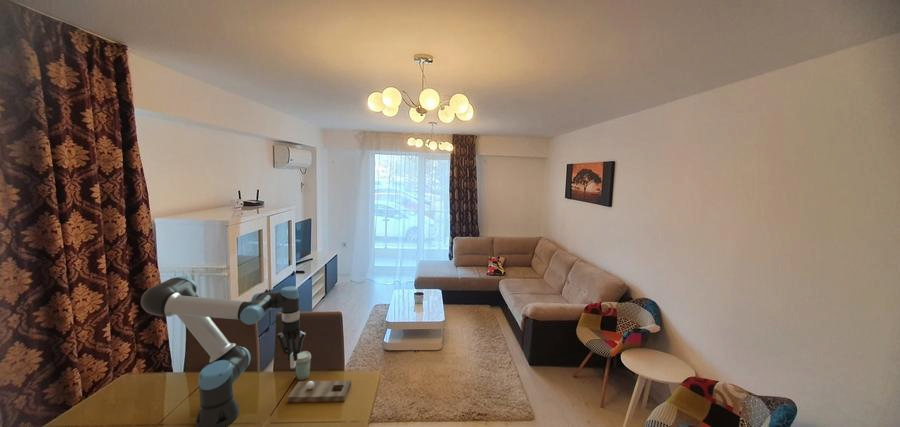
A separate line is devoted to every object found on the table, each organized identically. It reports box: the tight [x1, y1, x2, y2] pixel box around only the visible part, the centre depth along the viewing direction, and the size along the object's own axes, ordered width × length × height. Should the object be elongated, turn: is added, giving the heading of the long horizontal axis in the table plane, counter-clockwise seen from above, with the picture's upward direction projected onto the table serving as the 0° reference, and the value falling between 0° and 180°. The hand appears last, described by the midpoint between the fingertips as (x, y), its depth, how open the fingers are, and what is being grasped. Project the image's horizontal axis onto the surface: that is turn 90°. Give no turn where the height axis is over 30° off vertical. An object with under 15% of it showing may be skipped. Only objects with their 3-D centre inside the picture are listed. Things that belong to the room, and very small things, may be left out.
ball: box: [306, 380, 314, 389], centre depth 157 cm, size 4×4×4 cm
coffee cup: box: [294, 350, 312, 381], centre depth 171 cm, size 8×9×12 cm
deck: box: [287, 380, 352, 403], centre depth 158 cm, size 26×12×2 cm, turn 93°
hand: (293, 366), depth 156 cm, fingers closed
